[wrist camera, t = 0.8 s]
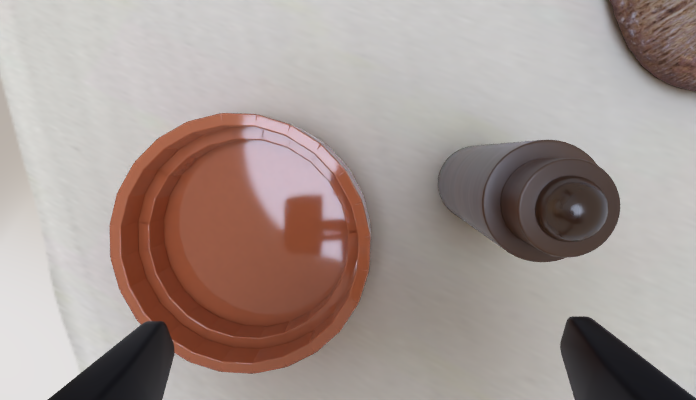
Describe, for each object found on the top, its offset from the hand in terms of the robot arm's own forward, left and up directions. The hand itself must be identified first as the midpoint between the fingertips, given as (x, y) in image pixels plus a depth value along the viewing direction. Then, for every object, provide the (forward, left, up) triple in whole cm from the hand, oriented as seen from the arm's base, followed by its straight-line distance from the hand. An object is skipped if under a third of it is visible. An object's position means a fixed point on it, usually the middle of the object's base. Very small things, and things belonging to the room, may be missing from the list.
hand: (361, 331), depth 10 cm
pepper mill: (+5, -4, -16) cm, 17 cm away
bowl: (-4, +5, -16) cm, 17 cm away
